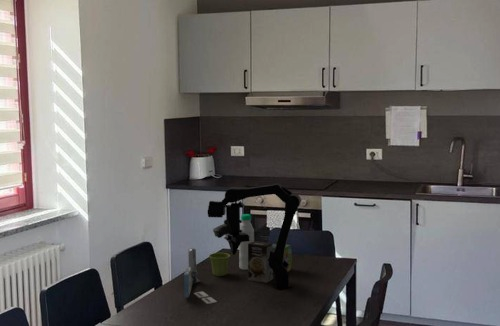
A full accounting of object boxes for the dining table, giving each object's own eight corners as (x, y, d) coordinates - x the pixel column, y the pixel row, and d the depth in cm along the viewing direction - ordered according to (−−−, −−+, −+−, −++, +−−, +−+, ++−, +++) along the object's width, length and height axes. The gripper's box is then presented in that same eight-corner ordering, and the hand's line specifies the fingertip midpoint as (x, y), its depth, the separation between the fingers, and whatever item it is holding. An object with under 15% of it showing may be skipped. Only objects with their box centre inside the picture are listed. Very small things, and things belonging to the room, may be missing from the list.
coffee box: (247, 280, 268) (247, 243, 266) (254, 276, 274) (254, 240, 272) (266, 283, 264) (266, 245, 262) (273, 279, 269) (272, 242, 268)
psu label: (208, 296, 247) (208, 295, 247) (199, 298, 245) (199, 296, 245) (202, 292, 252) (202, 291, 252) (193, 293, 251) (193, 292, 250)
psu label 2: (216, 302, 240) (216, 301, 240) (207, 304, 238) (207, 302, 238) (210, 297, 245) (210, 296, 245) (201, 299, 243) (201, 298, 243)
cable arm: (190, 281, 265) (189, 259, 264) (194, 281, 265) (193, 259, 264) (184, 297, 243) (184, 274, 242) (188, 297, 243) (188, 274, 242)
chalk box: (285, 274, 276) (285, 241, 274) (266, 272, 280) (265, 240, 278) (292, 269, 284) (292, 237, 283) (274, 267, 288) (273, 235, 287)
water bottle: (252, 270, 283) (252, 216, 280) (237, 269, 284) (236, 215, 281) (255, 266, 290) (255, 213, 287) (241, 265, 291) (240, 213, 288)
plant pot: (231, 271, 282) (231, 252, 281) (228, 277, 272) (228, 258, 271) (211, 271, 283) (210, 252, 282) (207, 277, 273) (207, 258, 272)
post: (200, 282, 266) (199, 250, 265) (189, 283, 264) (188, 251, 263) (196, 279, 271) (195, 247, 269) (185, 280, 268) (184, 248, 267)
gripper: (206, 215, 263) (207, 252, 265) (224, 223, 247) (225, 262, 249) (230, 213, 268) (230, 248, 270) (249, 220, 252) (250, 258, 254)
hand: (233, 254), depth 261 cm, fingers closed
